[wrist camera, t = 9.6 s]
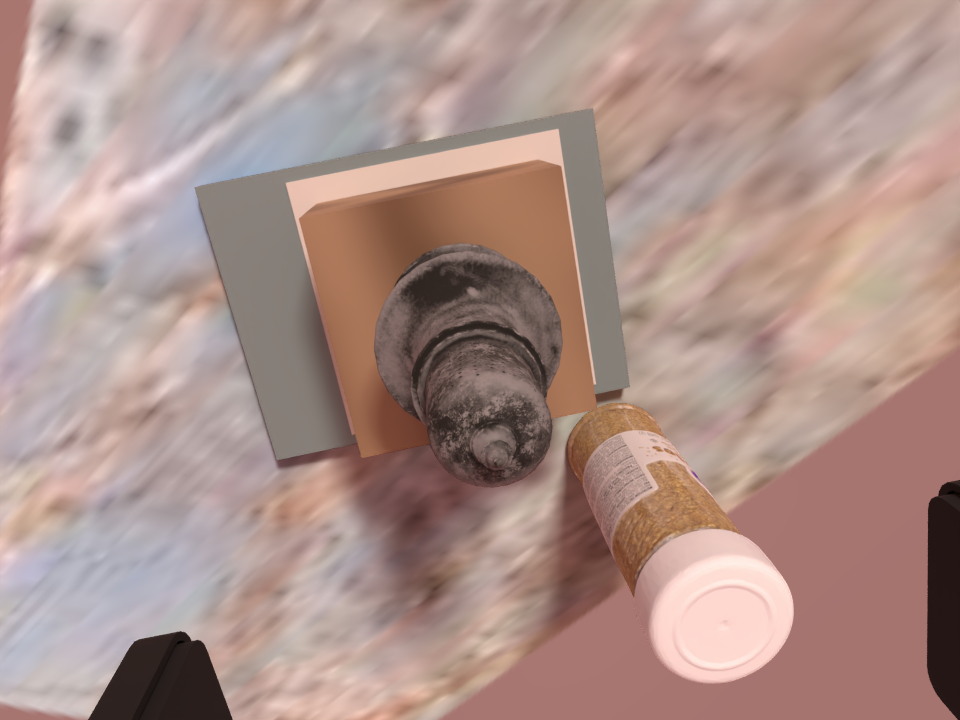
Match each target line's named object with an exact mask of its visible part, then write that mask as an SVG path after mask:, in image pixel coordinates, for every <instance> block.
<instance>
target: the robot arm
mask: <svg viewBox="0 0 960 720" xmlns="http://www.w3.org/2000/svg"><path fill="white" fill-rule="evenodd" d="M927 620H928V621H927V624H928V626H927V627H928V628H927V631H928V632H927V668H928V674H929V678H930V681H931V683H932V686H933V688H934V690H935V692H936V693H937V695H938V696H939V698H940V699H941V700H942V702H943V703H944V704H945V705H946V706H947V707H948V709H949V710H950V711H951V712H952V713H953V714H954V716H955V717H956V718H957V719H958V720H960V480H958V481H953V482H947V483H946V484H944V485H942V487H941V489H940V491H939V495H938V496H937V497H934V498H932V499H931V501H930V503H929V507H928V619H927ZM88 720H233V719H232V717H231V714H230V711H229V708H228V706H227V703H226V700H225V698H224V695H223V692H222V690H221V687H220V684H219V681H218V679H217V676H216V673H215V671H214V668H213V665H212V663H211V660H210V657H209V654H208V652H207V649H206V647H205V645H204V644H203V643H202V642H201V641H199V640H195V641H191V639H190V637H189V636H188V635H187V634H186V633H185V632H181V631H180V632H175V633H170V634H164V635H159V636H154V637H149V638H144V639H139V640H137V641H135V642H134V643H133V644H132V645H131V647H130V648H129V650H128V651H127V653H126V655H125V657H124V658H123V660H122V662H121V664H120V665H119V667H118V669H117V671H116V672H115V674H114V676H113V677H112V679H111V681H110V683H109V684H108V686H107V688H106V690H105V691H104V693H103V695H102V697H101V698H100V700H99V702H98V704H97V705H96V707H95V709H94V711H93V712H92V714H91V716H90V717H89V719H88Z"/></svg>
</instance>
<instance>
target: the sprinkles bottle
mask: <svg viewBox="0 0 960 720" xmlns="http://www.w3.org/2000/svg"><path fill="white" fill-rule="evenodd" d="M568 459H569V463H570V466H571V468H572V470H573V472H574V473H575V475H576V476H577V477H578V478H579V480H580V481H581V483H582V485H583V489H584V493H585V496H586V498H587V500H588V503H589V505H590V507H591V509H592V512H593V514H594V516H595V518H596V521H597V523H598V525H599V527H600V529H601V532H602V534H603V536H604V538H605V541H606V543H607V545H608V547H609V549H610V552H611V554H612V556H613V558H614V560H615V563H616V564H617V566H618V568H619V569H620V570H621V572H622V574H623V576H624V578H625V580H626V582H627V584H628V586H629V588H630V590H631V592H632V595H633V597H634V606H635V611H636V615H637V618H638V621H639V623H640V625H641V628H642V630H643V632H644V634H645V636H646V638H647V640H648V642H649V644H650V646H651V648H652V650H653V651H654V653H655V655H656V657H657V658H658V659H659V661H660V662H661V663H662V664H663V665H664V666H665V667H666V668H668V669H669V670H670V671H671V672H673V673H675V674H676V675H678V676H680V677H682V678H684V679H687V680H690V681H694V682H699V683H710V684H711V683H715V684H716V683H723V682H729V681H733V680H737V679H740V678H743V677H745V676H747V675H750V674H751V673H753V672H755V671H757V670H758V669H760V668H761V667H763V666H764V665H765V664H766V663H768V662H769V661H770V660H771V659H772V658H773V657H774V656H775V655H776V654H777V653H778V651H779V650H780V648H781V647H782V646H783V644H784V643H785V641H786V639H787V637H788V635H789V632H790V629H791V626H792V622H793V614H794V610H793V601H792V596H791V592H790V590H789V587H788V585H787V583H786V582H785V580H784V578H783V577H782V576H781V574H780V573H779V572H778V570H777V569H776V568H775V566H774V565H773V564H772V562H771V561H770V560H769V559H768V558H767V556H766V555H765V554H764V553H763V552H762V550H761V549H760V548H759V547H758V546H757V545H756V544H754V543H753V542H752V541H750V540H749V539H748V538H746V537H744V536H742V535H741V534H740V532H739V531H738V530H737V529H736V528H735V526H734V525H733V523H732V522H731V521H730V520H729V518H728V517H727V515H726V514H725V513H724V512H723V511H722V510H721V508H720V507H719V505H718V503H717V502H716V500H715V499H714V497H713V496H712V495H711V493H710V492H709V491H708V490H707V488H706V487H705V486H704V484H703V483H702V482H701V480H700V479H699V478H698V477H697V475H696V474H695V473H694V471H693V470H692V469H691V468H690V466H689V465H688V464H687V462H686V461H685V460H684V459H683V457H682V456H681V455H680V454H679V452H678V451H677V450H676V448H675V447H674V446H673V445H672V444H671V443H670V442H669V441H668V440H667V439H666V437H665V436H664V435H663V434H662V432H661V429H660V427H659V426H658V424H657V422H656V421H655V420H654V418H653V417H652V416H651V415H650V414H649V413H647V412H646V411H644V410H643V409H641V408H639V407H636V406H634V405H630V404H627V403H611V404H607V405H603V406H601V407H598V408H597V409H596V410H592V411H590V412H588V413H586V414H585V415H584V416H583V417H582V419H581V420H580V421H579V422H578V423H577V424H576V426H575V427H574V429H573V431H572V432H571V435H570V438H569V442H568Z"/></svg>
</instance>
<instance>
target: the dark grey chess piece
mask: <svg viewBox="0 0 960 720" xmlns="http://www.w3.org/2000/svg"><path fill="white" fill-rule="evenodd" d="M562 346H563V338H562V328H561V319H560V317H559V314H558V312H557V309H556V307H555V304H554V302H553V299H552V297H551V296H550V294H549V293H548V292H547V291H546V289H545V288H544V287H543V285H542V284H541V283H540V281H539V280H538V279H537V278H536V277H535V276H534V275H533V274H531V273H530V272H529V271H527V270H526V269H525V268H523V267H522V266H521V265H519V264H518V263H516V262H514V261H511V260H509V259H507V258H506V257H505V256H503V255H502V254H501V253H499V252H497V251H494V250H492V249H489V248H487V247H484V246H482V245H474V244H465V243H458V244H451V245H445V246H440V247H438V248H436V249H433V250H431V251H429V252H427V253H424V254H422V255H421V256H420V257H419V258H417V259H416V260H415V261H414V262H412V263H411V264H410V265H409V266H407V268H406V269H405V271H404V272H403V273H402V275H401V276H400V277H399V279H398V280H397V282H396V283H395V286H394V289H393V290H392V291H391V293H390V294H389V295H388V297H387V298H386V299H385V301H384V304H383V306H382V309H381V312H380V314H379V317H378V320H377V322H376V328H375V339H374V353H375V358H376V363H377V369H378V373H379V375H380V377H381V379H382V381H383V383H384V385H385V387H386V389H387V391H388V393H389V394H390V395H391V396H392V398H393V399H394V400H395V401H396V402H397V403H398V404H399V405H400V406H401V408H402V409H403V410H404V411H405V412H407V413H408V414H410V415H411V416H413V417H415V418H416V419H418V420H419V421H421V422H422V423H423V424H424V425H425V426H426V427H427V433H428V438H429V443H430V446H431V448H432V450H433V452H434V454H435V456H436V458H437V459H438V461H439V462H440V463H441V464H442V466H443V467H444V468H445V469H446V470H447V471H448V472H449V473H450V474H452V475H453V476H455V477H456V478H458V479H459V480H461V481H463V482H466V483H469V484H472V485H475V486H482V487H498V486H505V485H509V484H511V483H514V482H516V481H519V480H521V479H523V478H524V477H526V476H527V475H528V474H530V473H531V472H532V471H534V470H535V469H536V467H537V466H538V465H539V464H540V463H541V461H542V460H543V459H544V457H545V455H546V452H547V450H548V448H549V446H550V440H551V433H552V420H551V412H550V410H549V407H548V405H547V403H546V398H547V391H548V389H549V388H550V386H551V383H552V381H553V379H554V377H555V375H556V372H557V370H558V368H559V365H560V359H561V352H562Z"/></svg>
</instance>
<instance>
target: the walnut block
mask: <svg viewBox="0 0 960 720" xmlns="http://www.w3.org/2000/svg"><path fill="white" fill-rule="evenodd" d="M299 222H300V226H301V229H302V233H303V237H304V241H305V245H306V248H307V252H308V256H309V260H310V264H311V268H312V271H313V275H314V279H315V283H316V287H317V290H318V294H319V298H320V302H321V306H322V310H323V313H324V317H325V321H326V325H327V329H328V332H329V336H330V340H331V344H332V348H333V352H334V355H335V359H336V363H337V367H338V371H339V374H340V378H341V382H342V386H343V390H344V394H345V397H346V401H347V405H348V409H349V413H350V416H351V420H352V424H353V428H354V432H355V436H356V439H357V443H358V447H359V451H360V455H361V458H365V457H370V456H374V455H379V454H384V453H389V452H394V451H399V450H403V449H408V448H413V447H418V446H423V445H427V444H430V443H429V438H428V433H427V427H426V426H425V425H424V424H423V423H422V422H421V421H419V420H418V419H416V418H415V417H413V416H411V415H410V414H408V413H407V412H405V411H404V410H403V409H402V408H401V406H400V405H399V404H398V403H397V402H396V401H395V400H394V399H393V398H392V396H391V395H390V394H389V393H388V391H387V389H386V387H385V385H384V383H383V381H382V379H381V377H380V375H379V373H378V369H377V363H376V358H375V353H374V339H375V328H376V322H377V320H378V317H379V314H380V312H381V309H382V306H383V304H384V301H385V299H386V298H387V297H388V295H389V294H390V293H391V291H392V290H393V289H394V286H395V283H396V282H397V280H398V279H399V277H400V276H401V275H402V273H403V272H404V271H405V269H406V268H407V266H409V265H410V264H411V263H412V262H414V261H415V260H416V259H417V258H419V257H420V256H421V255H422V254H424V253H427V252H429V251H431V250H433V249H436V248H438V247H440V246H445V245H451V244H458V243H465V244H474V245H482V246H484V247H487V248H489V249H492V250H494V251H497V252H499V253H501V254H502V255H503V256H505V257H506V258H507V259H509V260H511V261H514V262H516V263H518V264H519V265H521V266H522V267H523V268H525V269H526V270H527V271H529V272H530V273H531V274H533V275H534V276H535V277H536V278H537V279H538V280H539V281H540V283H541V284H542V285H543V287H544V288H545V289H546V291H547V292H548V293H549V294H550V296H551V297H552V299H553V302H554V304H555V307H556V309H557V312H558V314H559V317H560V319H561V328H562V338H563V346H562V352H561V359H560V365H559V368H558V370H557V372H556V375H555V377H554V379H553V381H552V383H551V386H550V388H549V389H548V391H547V398H546V403H547V405H548V407H549V410H550V412H551V419H552V418H557V417H562V416H567V415H572V414H577V413H581V412H586V411H591V410H596V409H597V404H596V397H595V390H594V383H593V377H592V370H591V363H590V356H589V350H588V343H587V336H586V329H585V323H584V316H583V309H582V302H581V296H580V289H579V282H578V276H577V269H576V262H575V255H574V249H573V242H572V235H571V228H570V222H569V215H568V208H567V201H566V195H565V188H564V181H563V174H562V168H561V166H559V165H556V164H552V163H549V162H545V161H542V160H538V159H537V160H532V161H527V162H522V163H517V164H512V165H507V166H502V167H497V168H492V169H487V170H482V171H477V172H472V173H467V174H462V175H457V176H452V177H447V178H442V179H437V180H432V181H427V182H422V183H417V184H412V185H407V186H402V187H397V188H392V189H387V190H382V191H377V192H372V193H367V194H362V195H356V196H351V197H346V198H341V199H336V200H331V201H326V202H321V203H317V204H316V205H314V206H313V207H312V208H311V209H310V210H308V211H307V212H306V213H305V214H304V215H302V216H301V217H300V218H299Z"/></svg>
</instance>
